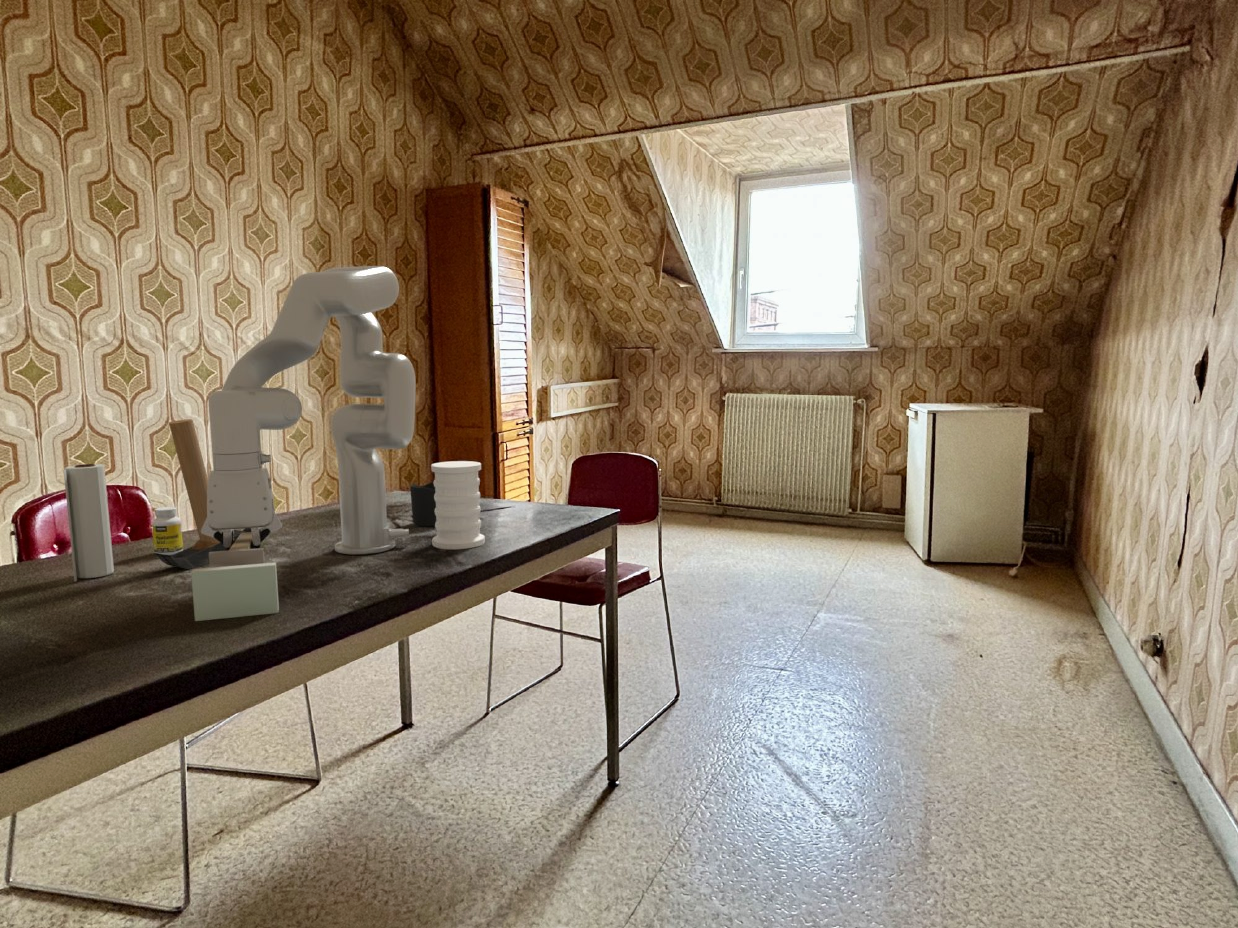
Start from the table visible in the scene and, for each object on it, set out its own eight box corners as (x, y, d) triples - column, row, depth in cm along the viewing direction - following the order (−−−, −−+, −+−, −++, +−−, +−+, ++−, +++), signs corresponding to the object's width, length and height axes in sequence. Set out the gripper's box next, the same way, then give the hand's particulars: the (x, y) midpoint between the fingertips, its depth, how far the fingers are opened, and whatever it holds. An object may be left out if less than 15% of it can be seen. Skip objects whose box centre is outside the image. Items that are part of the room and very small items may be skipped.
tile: (279, 609, 126) (275, 562, 125) (277, 613, 124) (274, 565, 123) (197, 617, 122) (193, 569, 121) (195, 621, 120) (191, 572, 119)
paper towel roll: (108, 568, 151) (97, 462, 148) (118, 574, 147) (108, 464, 144) (64, 576, 145) (53, 466, 142) (74, 582, 141) (63, 468, 138)
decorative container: (457, 535, 179) (454, 459, 177) (495, 541, 173) (493, 462, 171) (421, 545, 169) (418, 465, 167) (460, 551, 163) (457, 469, 161)
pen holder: (444, 527, 188) (443, 487, 186) (407, 527, 188) (405, 487, 187) (453, 519, 197) (452, 481, 196) (417, 519, 197) (416, 481, 196)
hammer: (178, 583, 148) (136, 435, 139) (161, 580, 150) (119, 434, 141) (264, 543, 165) (231, 409, 156) (248, 541, 167) (215, 408, 158)
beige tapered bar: (226, 560, 138) (224, 533, 137) (274, 557, 140) (272, 530, 140) (210, 583, 124) (208, 553, 123) (264, 578, 126) (262, 549, 125)
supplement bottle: (153, 557, 160) (149, 511, 158) (155, 551, 164) (151, 507, 163) (183, 554, 162) (179, 509, 161) (184, 548, 167) (180, 505, 166)
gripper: (290, 458, 136) (296, 558, 138) (189, 462, 131) (197, 565, 133) (286, 463, 129) (293, 568, 131) (179, 467, 124) (188, 577, 126)
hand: (244, 566), depth 132 cm, fingers closed on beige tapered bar, 2 cm apart
